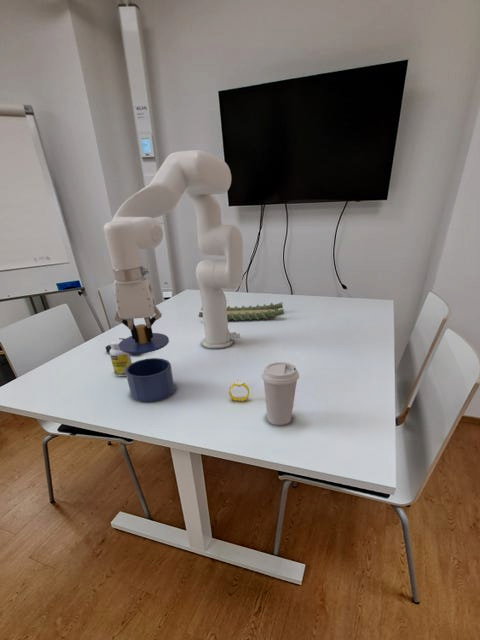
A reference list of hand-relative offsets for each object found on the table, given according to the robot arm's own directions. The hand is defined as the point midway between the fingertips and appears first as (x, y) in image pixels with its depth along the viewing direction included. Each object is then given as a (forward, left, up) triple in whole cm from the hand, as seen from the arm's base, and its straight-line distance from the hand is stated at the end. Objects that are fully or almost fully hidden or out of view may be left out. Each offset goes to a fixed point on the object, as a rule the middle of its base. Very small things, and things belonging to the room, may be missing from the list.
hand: (143, 340), depth 105 cm
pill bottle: (+12, -16, -17) cm, 26 cm away
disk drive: (+14, -38, -17) cm, 44 cm away
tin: (0, 0, -17) cm, 17 cm away
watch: (-27, +10, -17) cm, 33 cm away
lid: (0, 0, -1) cm, 1 cm away
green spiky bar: (-35, -70, -17) cm, 80 cm away
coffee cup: (-37, +22, -17) cm, 46 cm away
